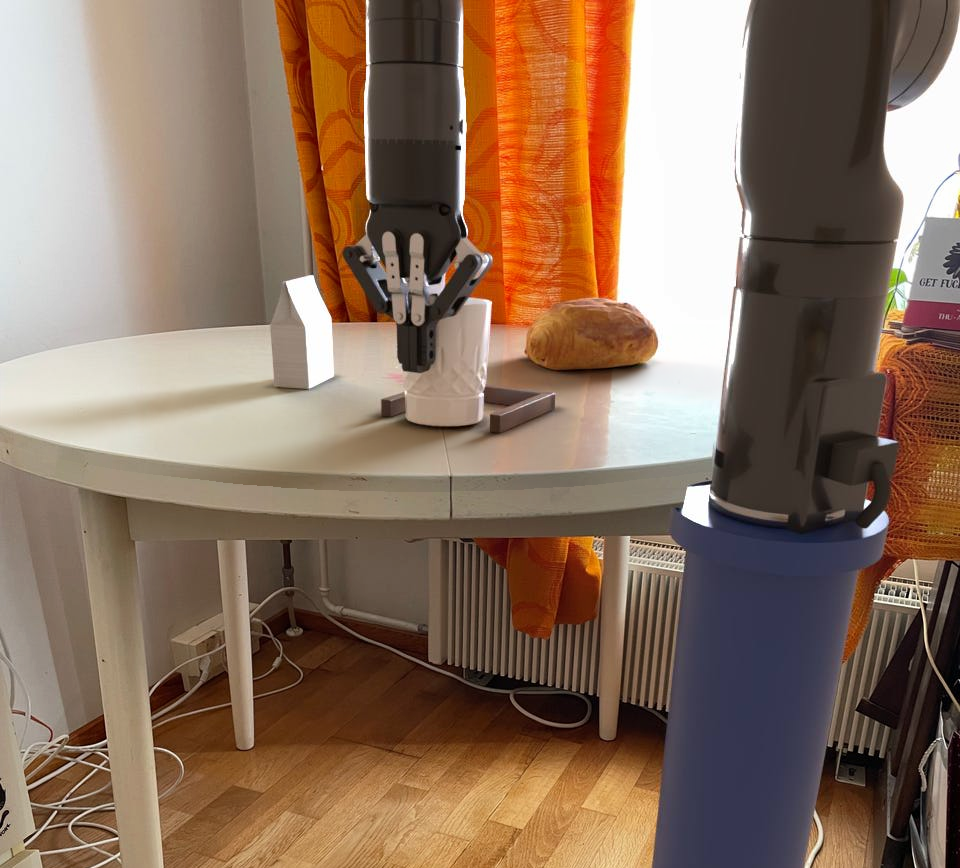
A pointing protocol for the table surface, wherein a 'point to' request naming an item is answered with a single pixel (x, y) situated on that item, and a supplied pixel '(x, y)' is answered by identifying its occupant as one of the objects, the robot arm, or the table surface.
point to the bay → (519, 401)
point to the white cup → (453, 371)
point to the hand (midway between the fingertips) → (416, 370)
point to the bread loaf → (590, 335)
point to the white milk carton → (301, 336)
